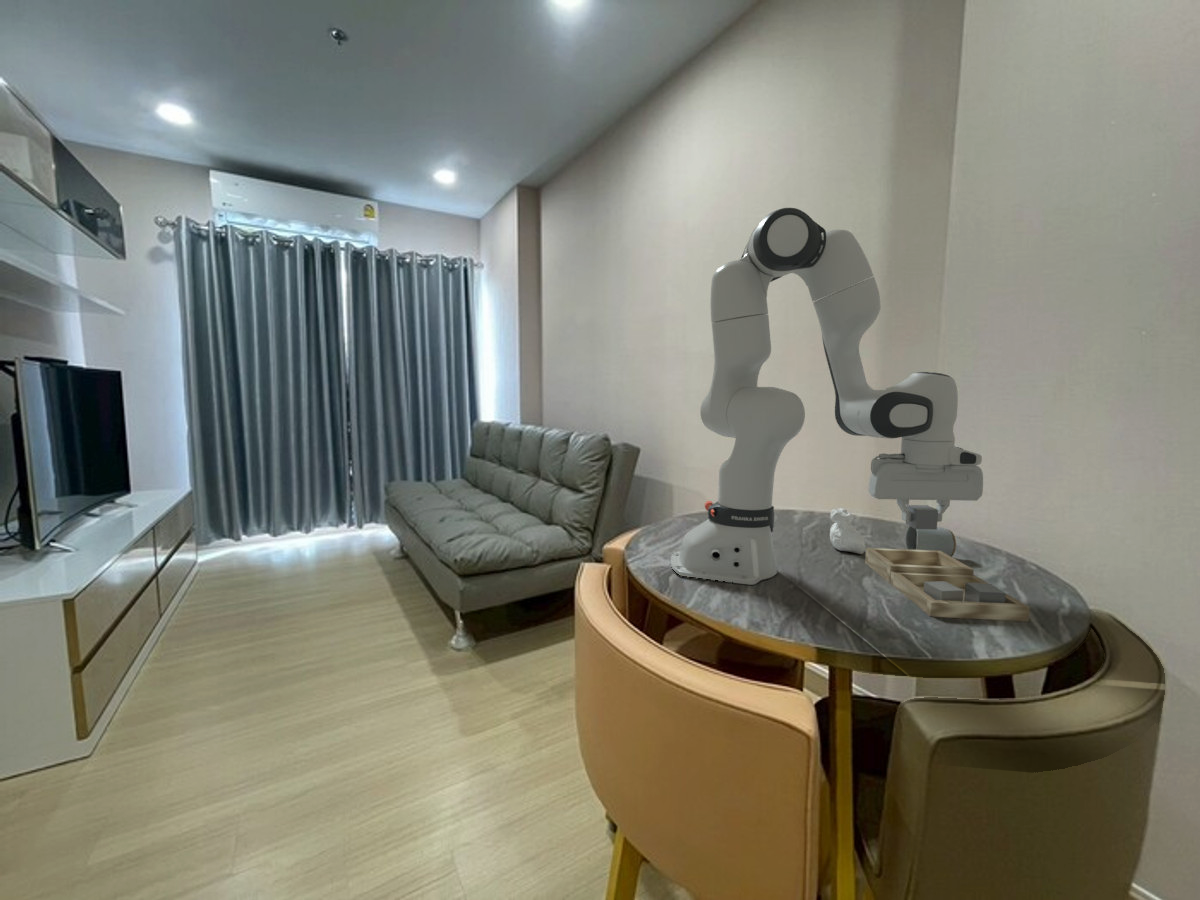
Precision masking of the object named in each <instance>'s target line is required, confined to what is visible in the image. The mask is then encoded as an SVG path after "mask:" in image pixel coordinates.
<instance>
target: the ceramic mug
mask: <svg viewBox="0 0 1200 900" xmlns="http://www.w3.org/2000/svg"><path fill="white" fill-rule="evenodd" d="M956 548H957V542H956V537H955V534H954V533H953V531H952V530H951V529H948V528H944V527H942V526H941V527H940V526H937V530H934V529H914V528H913V527H911V526H909V525H908V528H907V530H906V534H905V549H909V550H936V551H942V552H943V553H945V554H947V555H949V556H951V557H952V558H953V556H954V554H955V553H956Z"/></svg>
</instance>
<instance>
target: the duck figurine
mask: <svg viewBox="0 0 1200 900" xmlns="http://www.w3.org/2000/svg"><path fill="white" fill-rule="evenodd" d="M830 520H831V521H832V523H833V524H832V525H831V527H830V529H829V531H830V532H829V539H830V540H829V541H830V542H831V545H832V546H833V547H834V548H835V549H836V550H839V551H841V552H848V553H849V552H850V553H854V554H857V555H863V554H864V553H865V552H866V541H865V539H864V537H863V535H862V534H861V533H860V532H859V531H857V529H856V528H855V527H854V526H853V525H852V521H854V520H855V515H853V514H852V513H851V512H850V513H849V512H848V510H847V509H845V508H843V507H840V508H835V509H832V510H831V511H830Z"/></svg>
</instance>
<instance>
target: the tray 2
mask: <svg viewBox="0 0 1200 900" xmlns="http://www.w3.org/2000/svg"><path fill="white" fill-rule="evenodd" d="M936 581H946V582H948V583H950V584H952V585H954V586H956V587H958V588H960V589H962V590H964V593H963V601H947V600H934V599H933V598H932V597H930V596H929V595H928V594H926V593H925V592H924V582H936ZM966 583H984V584H990V583H988V582H987V581H985V580H984V579H982V578H980V577H978V576H976V575H975V574H973V575H962V574H938V573H914V572H891V578H890V583H889V584H890V585H892V586H893V587H894V588H895V589H896V590H897V591H898V592H900V593H901V594H902V595H904V597H906V598H907V599H908V600H910V601H911V602H912V603H913V604H915V605H916V606H917V607H918V608H919V609H921V610H922V612H924V613H926V614H927V615H928V616H929V617H934V618H937V617H938V618H953V619H974V620H975V619H976V620H989V621H990V620H994V621H995V620H996V621H1014V622H1029V618H1030V611H1031V607H1030V606H1029V605H1026V604H1025V603H1023V602H1022V601H1021V600H1018V599H1016V598H1014V597H1013V596H1011V595H1009V594H1007V593H1006V598H1005V603H989V602H968V601H964V596H965V586H966Z"/></svg>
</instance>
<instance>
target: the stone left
mask: <svg viewBox="0 0 1200 900" xmlns="http://www.w3.org/2000/svg"><path fill="white" fill-rule="evenodd" d="M924 592H925V593H926V594H928V595H929V596H930V597H932V598H933V599H934V600H947V601H963V593H964V590H962V589H960V588H958V587H956V586H954V585H952V584H950V583H948V582H946V581H936V582H924Z"/></svg>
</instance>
